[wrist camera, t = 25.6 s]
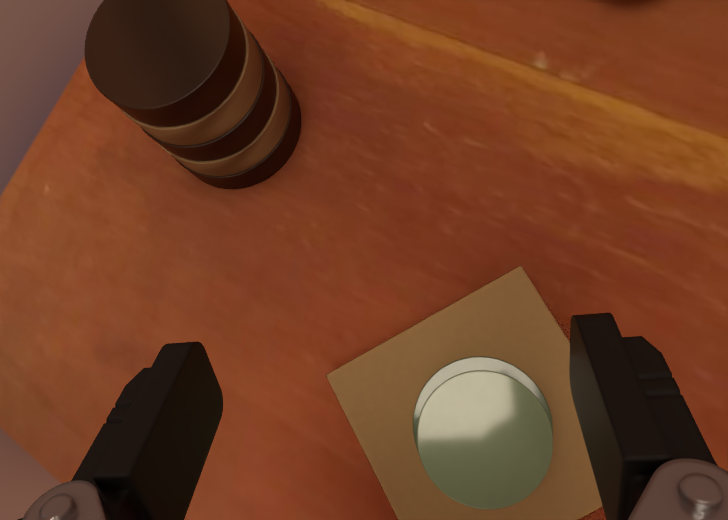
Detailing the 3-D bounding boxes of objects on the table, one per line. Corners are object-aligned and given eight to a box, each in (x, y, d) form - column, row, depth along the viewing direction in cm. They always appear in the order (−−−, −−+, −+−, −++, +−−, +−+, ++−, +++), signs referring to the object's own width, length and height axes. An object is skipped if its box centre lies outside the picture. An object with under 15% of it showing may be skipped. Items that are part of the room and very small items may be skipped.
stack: (209, 213, 36) (112, 149, 27) (159, 109, 38) (53, 16, 29) (323, 145, 36) (267, 56, 26) (266, 45, 38) (195, -72, 28)
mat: (436, 592, 30) (435, 595, 29) (327, 375, 33) (325, 374, 32) (653, 477, 29) (655, 478, 29) (520, 266, 32) (520, 265, 32)
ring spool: (456, 520, 30) (449, 570, 22) (391, 396, 32) (361, 399, 23) (577, 455, 29) (617, 481, 21) (505, 333, 31) (515, 314, 23)
